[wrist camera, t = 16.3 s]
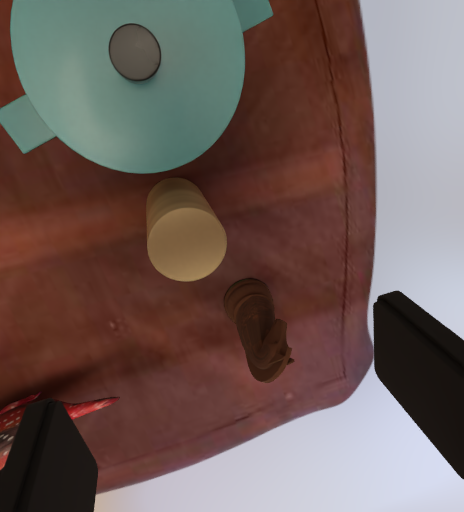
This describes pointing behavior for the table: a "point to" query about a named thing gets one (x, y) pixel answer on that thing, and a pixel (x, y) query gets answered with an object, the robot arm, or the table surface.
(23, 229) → the table surface
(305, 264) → the table surface
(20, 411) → the decorative bird figurine
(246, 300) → the chess piece
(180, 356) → the table surface
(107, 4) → the pot lid
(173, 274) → the cylinder
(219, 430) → the table surface
